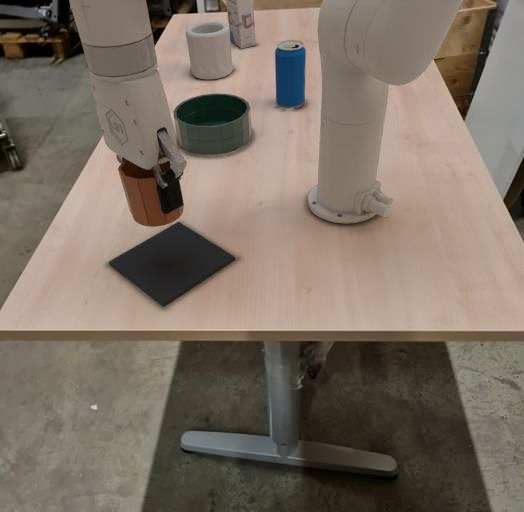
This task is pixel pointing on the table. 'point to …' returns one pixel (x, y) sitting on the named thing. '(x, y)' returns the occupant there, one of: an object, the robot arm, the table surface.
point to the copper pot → (145, 194)
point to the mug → (209, 49)
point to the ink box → (241, 22)
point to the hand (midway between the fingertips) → (155, 197)
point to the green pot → (213, 123)
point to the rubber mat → (171, 262)
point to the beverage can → (290, 73)
